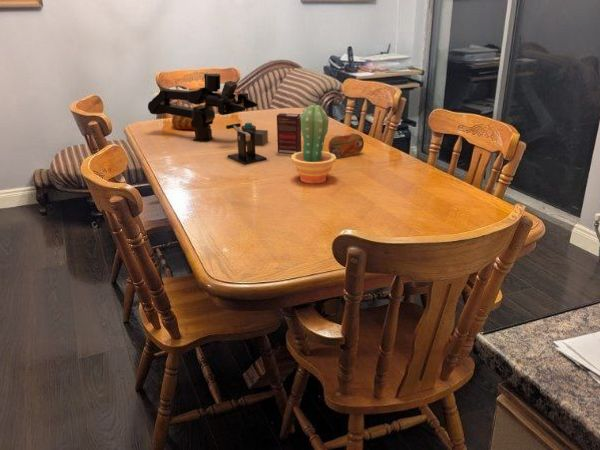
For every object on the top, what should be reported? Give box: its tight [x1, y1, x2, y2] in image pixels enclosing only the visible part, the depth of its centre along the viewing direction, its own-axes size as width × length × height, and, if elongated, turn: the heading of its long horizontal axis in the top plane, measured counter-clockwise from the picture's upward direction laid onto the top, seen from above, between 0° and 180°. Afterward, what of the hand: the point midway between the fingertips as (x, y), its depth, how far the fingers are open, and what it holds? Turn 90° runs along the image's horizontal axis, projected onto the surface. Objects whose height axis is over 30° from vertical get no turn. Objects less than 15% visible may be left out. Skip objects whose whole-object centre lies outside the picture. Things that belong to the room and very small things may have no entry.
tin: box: [327, 133, 365, 159], centre depth 205 cm, size 15×3×8 cm, turn 117°
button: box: [244, 122, 253, 128], centre depth 221 cm, size 3×3×2 cm
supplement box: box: [276, 112, 302, 157], centre depth 205 cm, size 9×5×16 cm, turn 71°
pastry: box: [171, 115, 195, 130], centre depth 249 cm, size 21×13×8 cm, turn 33°
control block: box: [240, 124, 269, 147], centre depth 222 cm, size 10×7×7 cm
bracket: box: [227, 130, 268, 166], centre depth 200 cm, size 12×10×11 cm
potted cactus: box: [290, 104, 337, 184], centre depth 176 cm, size 15×15×25 cm
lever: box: [225, 122, 251, 141], centre depth 201 cm, size 11×6×2 cm, turn 38°
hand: (251, 107), depth 213 cm, fingers open, 9 cm apart
